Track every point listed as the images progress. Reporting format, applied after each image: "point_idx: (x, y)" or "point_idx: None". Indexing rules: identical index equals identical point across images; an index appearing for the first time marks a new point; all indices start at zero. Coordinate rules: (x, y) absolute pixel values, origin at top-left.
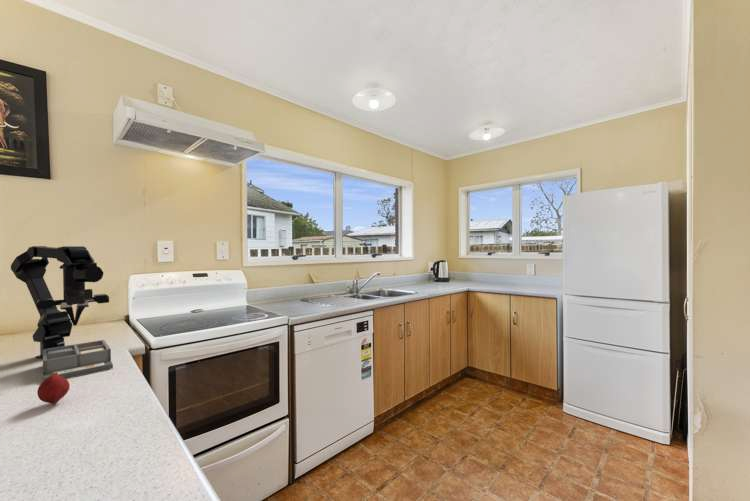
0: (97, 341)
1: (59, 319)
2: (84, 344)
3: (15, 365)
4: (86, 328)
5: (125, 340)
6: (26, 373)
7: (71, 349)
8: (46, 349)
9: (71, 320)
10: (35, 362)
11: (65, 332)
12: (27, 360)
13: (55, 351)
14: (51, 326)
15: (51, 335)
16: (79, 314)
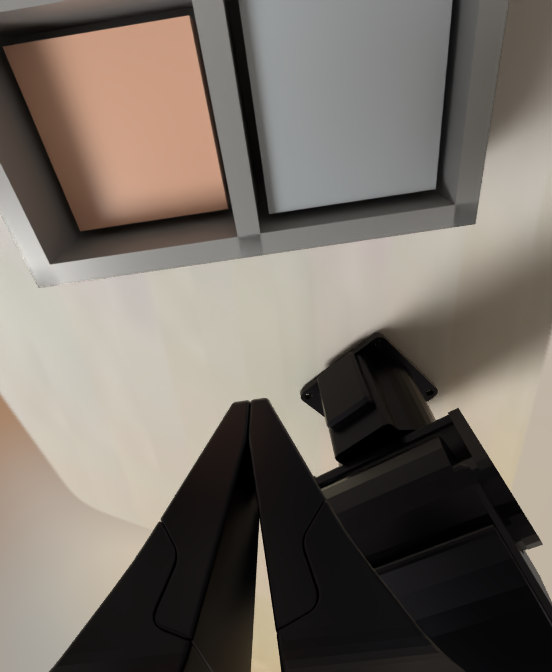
0: (82, 260)
1: (411, 602)
2: (181, 241)
3: (524, 303)
4: (268, 659)
5: (64, 477)
6: (524, 28)
7: (267, 143)
8: (453, 203)
9: (296, 450)
10: (443, 303)
11: (333, 483)
12: (466, 366)
13: (385, 158)
14: (461, 505)
15: (422, 443)
16: (160, 553)
